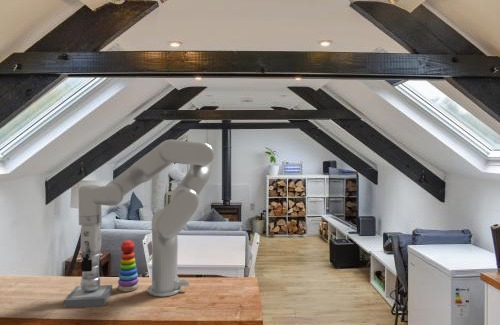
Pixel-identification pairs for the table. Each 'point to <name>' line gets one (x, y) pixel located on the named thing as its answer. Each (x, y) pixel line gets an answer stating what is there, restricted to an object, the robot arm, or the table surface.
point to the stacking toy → (128, 268)
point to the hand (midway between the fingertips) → (90, 266)
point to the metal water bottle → (92, 274)
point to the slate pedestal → (88, 297)
